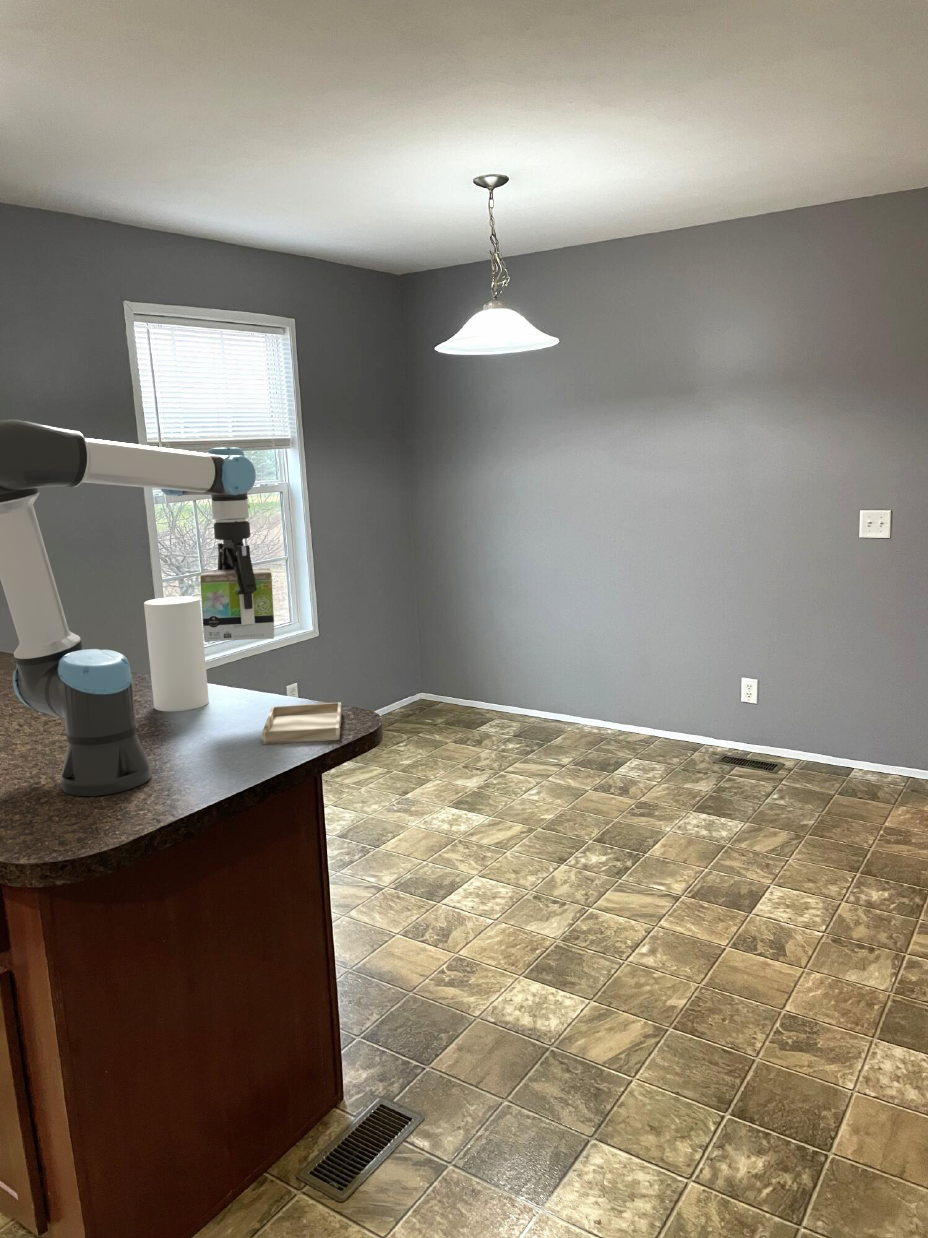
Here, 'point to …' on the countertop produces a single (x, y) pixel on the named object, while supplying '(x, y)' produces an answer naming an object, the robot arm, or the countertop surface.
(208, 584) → the tea box
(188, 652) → the cylinder
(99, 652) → the robot arm
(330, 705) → the tray
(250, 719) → the countertop surface
